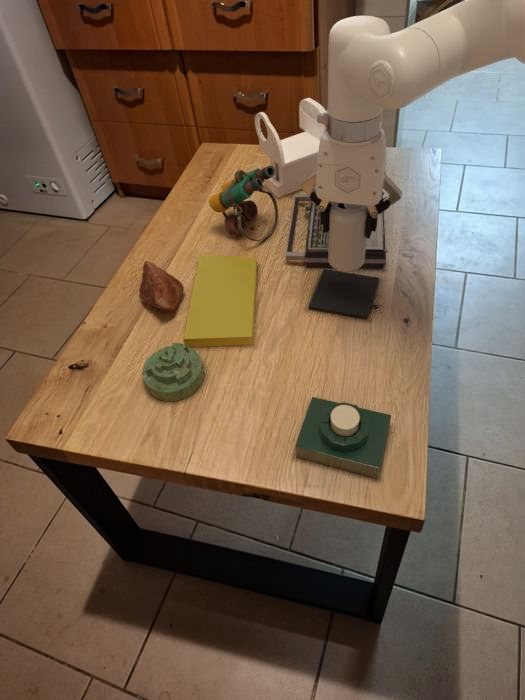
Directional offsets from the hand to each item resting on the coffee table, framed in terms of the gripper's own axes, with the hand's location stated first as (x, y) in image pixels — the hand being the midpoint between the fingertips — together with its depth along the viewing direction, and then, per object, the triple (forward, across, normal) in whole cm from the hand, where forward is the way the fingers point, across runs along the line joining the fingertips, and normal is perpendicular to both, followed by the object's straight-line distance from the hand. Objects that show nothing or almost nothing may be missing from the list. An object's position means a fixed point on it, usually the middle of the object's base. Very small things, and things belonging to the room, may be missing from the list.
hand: (348, 229), depth 81 cm
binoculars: (+15, -26, +16) cm, 34 cm away
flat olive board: (+15, -22, -7) cm, 28 cm away
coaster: (+15, 0, 0) cm, 15 cm away
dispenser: (+15, +7, -31) cm, 35 cm away
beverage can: (+7, 0, 0) cm, 7 cm away
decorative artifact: (+15, -23, -27) cm, 38 cm away
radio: (+15, -6, +19) cm, 25 cm away
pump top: (+10, +7, -31) cm, 33 cm away
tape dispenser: (+15, -21, +37) cm, 45 cm away
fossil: (+15, -34, -10) cm, 38 cm away
